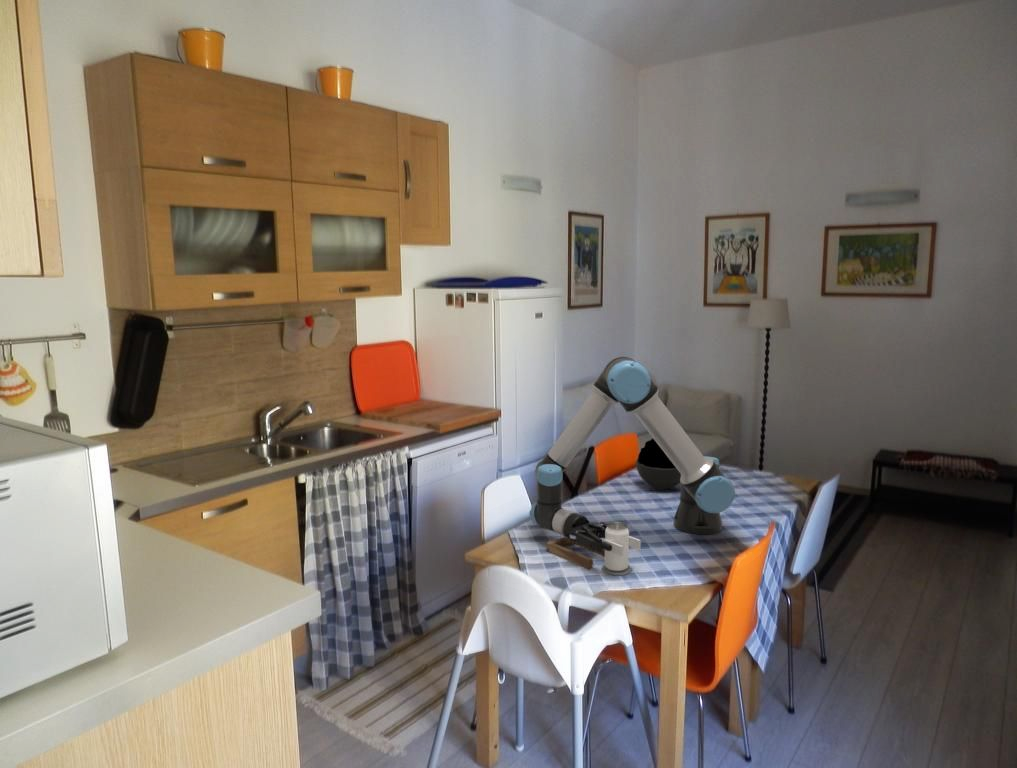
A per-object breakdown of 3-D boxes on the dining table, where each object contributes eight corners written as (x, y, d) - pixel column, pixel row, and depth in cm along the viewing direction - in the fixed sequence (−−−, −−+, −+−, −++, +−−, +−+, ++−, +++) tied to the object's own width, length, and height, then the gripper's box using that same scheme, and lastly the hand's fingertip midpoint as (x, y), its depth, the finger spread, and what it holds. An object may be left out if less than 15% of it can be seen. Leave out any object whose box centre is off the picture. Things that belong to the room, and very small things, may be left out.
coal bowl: (669, 478, 290) (670, 432, 287) (699, 492, 272) (701, 443, 269) (625, 483, 283) (626, 436, 280) (653, 498, 264) (655, 447, 262)
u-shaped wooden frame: (574, 541, 222) (574, 533, 221) (617, 559, 208) (617, 550, 208) (546, 550, 215) (546, 542, 214) (588, 569, 201) (588, 560, 201)
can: (625, 562, 204) (626, 521, 202) (630, 571, 198) (631, 529, 196) (602, 562, 204) (603, 521, 202) (606, 571, 197) (607, 529, 196)
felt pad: (615, 561, 206) (615, 560, 206) (637, 570, 200) (637, 569, 200) (595, 568, 201) (595, 567, 201) (617, 578, 195) (617, 576, 195)
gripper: (594, 530, 220) (653, 552, 202) (546, 545, 208) (605, 570, 190) (594, 506, 219) (654, 526, 201) (547, 519, 207) (606, 543, 189)
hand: (630, 548), depth 196 cm, fingers closed on can, 6 cm apart
